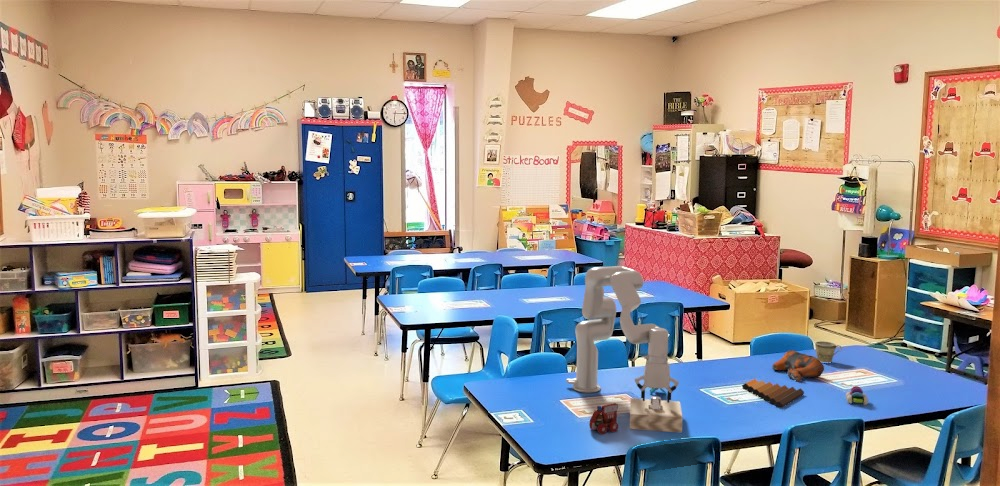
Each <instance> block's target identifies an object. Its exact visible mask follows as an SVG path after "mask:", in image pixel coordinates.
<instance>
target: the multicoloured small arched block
mask: <svg viewBox="0 0 1000 486" xmlns="http://www.w3.org/2000/svg"><path fill="white" fill-rule="evenodd" d="M845 399H846V402H847V404H850V405H852V403H853V402H854V403H859V404H860V403H861V404H862V405H863V406H867V405H868V403H869V399H868V396H867V395H866V393H864V391H863V389H862V388H861V386H859V385H858V386H857V385H855V386H853V387H851V389H850V391H848V392H846V393H845Z"/></svg>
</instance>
